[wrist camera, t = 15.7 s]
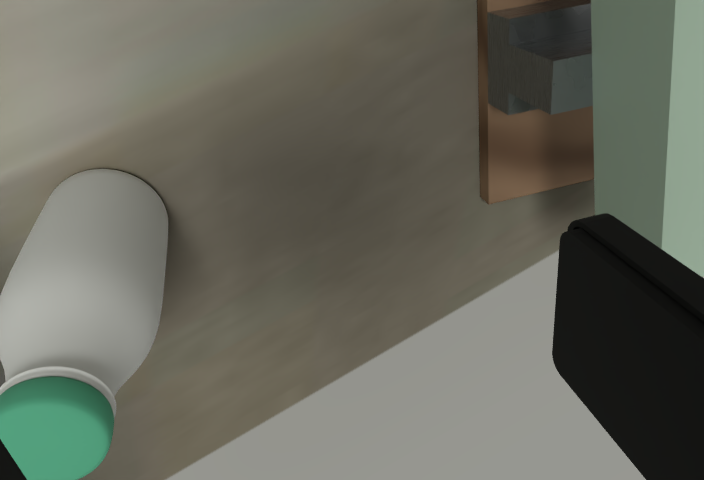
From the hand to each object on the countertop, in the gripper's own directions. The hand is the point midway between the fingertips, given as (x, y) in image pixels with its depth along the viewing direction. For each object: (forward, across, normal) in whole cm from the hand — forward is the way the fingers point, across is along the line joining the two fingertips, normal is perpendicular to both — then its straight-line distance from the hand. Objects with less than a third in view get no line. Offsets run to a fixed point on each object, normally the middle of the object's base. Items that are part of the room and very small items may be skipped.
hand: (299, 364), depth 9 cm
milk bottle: (+31, +10, +10) cm, 34 cm away
